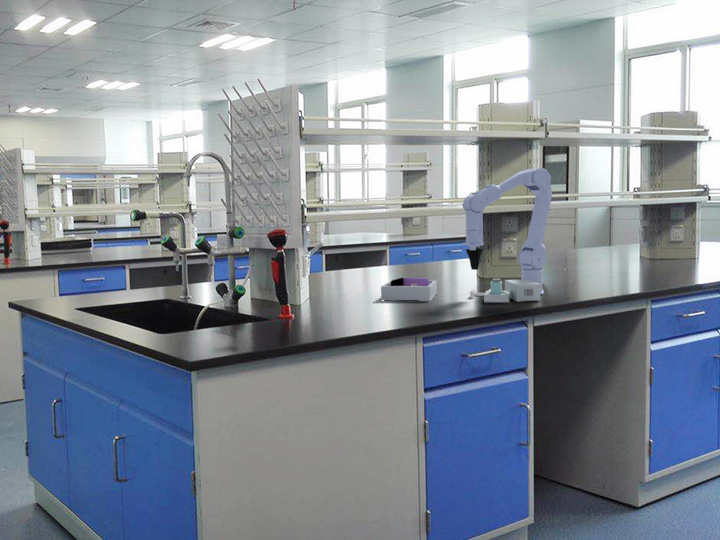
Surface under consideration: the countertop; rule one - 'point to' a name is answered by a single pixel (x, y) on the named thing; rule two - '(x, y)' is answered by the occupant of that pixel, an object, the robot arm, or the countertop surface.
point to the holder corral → (409, 292)
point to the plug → (496, 286)
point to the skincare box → (523, 290)
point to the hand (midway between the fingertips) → (474, 269)
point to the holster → (472, 293)
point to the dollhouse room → (410, 282)
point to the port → (497, 297)
